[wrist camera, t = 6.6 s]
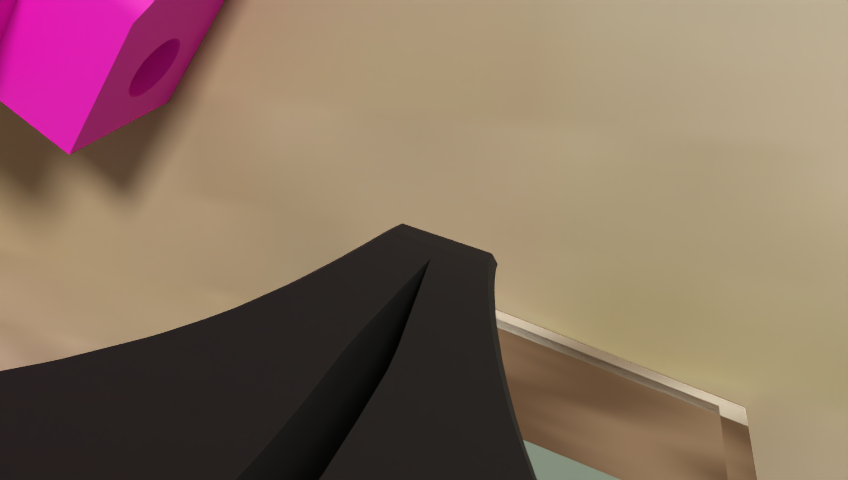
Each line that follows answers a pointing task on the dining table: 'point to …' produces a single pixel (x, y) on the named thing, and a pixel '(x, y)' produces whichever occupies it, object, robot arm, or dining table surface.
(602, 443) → the brown wooden tray
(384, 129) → the dining table surface
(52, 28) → the toy block
